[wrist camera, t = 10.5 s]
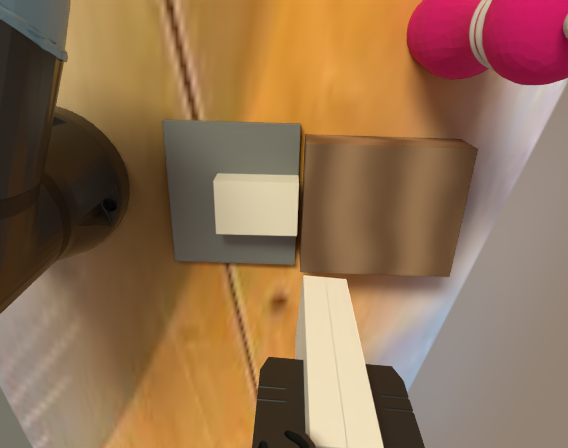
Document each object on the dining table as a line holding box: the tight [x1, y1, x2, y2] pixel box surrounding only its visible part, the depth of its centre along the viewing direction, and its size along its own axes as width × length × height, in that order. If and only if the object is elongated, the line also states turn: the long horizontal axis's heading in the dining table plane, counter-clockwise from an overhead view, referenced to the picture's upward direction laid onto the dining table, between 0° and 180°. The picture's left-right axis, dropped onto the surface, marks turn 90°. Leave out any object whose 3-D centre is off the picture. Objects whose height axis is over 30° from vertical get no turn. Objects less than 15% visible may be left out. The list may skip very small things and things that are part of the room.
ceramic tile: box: [213, 173, 299, 236], centre depth 41 cm, size 8×6×2 cm
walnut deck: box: [300, 134, 478, 277], centre depth 40 cm, size 15×13×4 cm
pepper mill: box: [407, 0, 568, 85], centre depth 27 cm, size 7×7×20 cm
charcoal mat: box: [162, 120, 301, 265], centre depth 42 cm, size 13×15×1 cm
